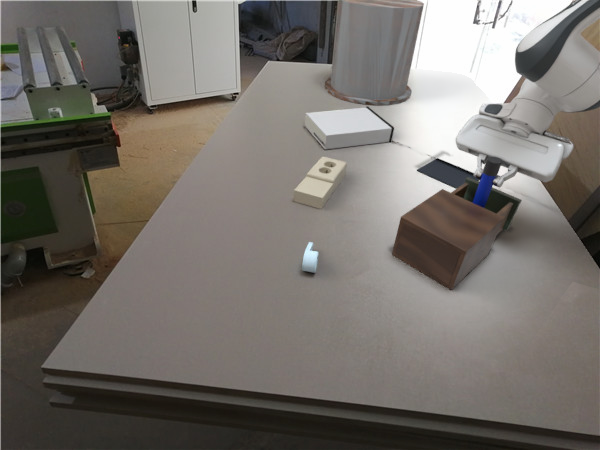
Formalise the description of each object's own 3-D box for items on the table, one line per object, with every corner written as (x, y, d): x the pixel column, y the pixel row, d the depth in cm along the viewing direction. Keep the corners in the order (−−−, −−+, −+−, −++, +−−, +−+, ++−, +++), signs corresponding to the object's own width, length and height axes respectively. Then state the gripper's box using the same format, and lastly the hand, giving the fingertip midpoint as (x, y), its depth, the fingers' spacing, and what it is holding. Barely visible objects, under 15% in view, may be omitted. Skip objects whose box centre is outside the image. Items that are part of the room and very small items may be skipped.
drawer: (466, 198, 100) (476, 171, 95) (516, 221, 93) (529, 192, 88) (426, 228, 89) (435, 199, 84) (479, 257, 82) (492, 226, 78)
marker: (484, 213, 88) (504, 159, 80) (478, 218, 86) (498, 164, 78) (472, 207, 89) (491, 154, 81) (466, 212, 88) (484, 159, 80)
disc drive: (391, 142, 126) (394, 127, 123) (325, 150, 119) (326, 134, 116) (365, 120, 139) (367, 106, 136) (304, 126, 132) (305, 111, 129)
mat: (487, 174, 112) (487, 173, 112) (463, 191, 104) (463, 190, 104) (442, 156, 120) (442, 154, 120) (416, 170, 112) (417, 169, 112)
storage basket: (398, 112, 147) (418, 13, 127) (311, 93, 158) (317, 0, 138) (419, 85, 172) (438, 0, 153) (342, 71, 183) (351, -10, 164)
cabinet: (431, 224, 92) (442, 188, 86) (488, 254, 85) (504, 217, 79) (391, 254, 83) (400, 216, 77) (451, 290, 76) (466, 251, 70)
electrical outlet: (294, 186, 94) (322, 155, 108) (293, 201, 97) (320, 168, 110) (322, 194, 92) (347, 161, 106) (321, 209, 95) (345, 175, 108)
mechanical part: (314, 276, 76) (316, 258, 74) (301, 274, 76) (303, 256, 75) (320, 255, 83) (322, 238, 81) (308, 253, 83) (310, 236, 82)
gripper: (576, 148, 79) (538, 208, 79) (478, 116, 90) (444, 168, 91) (580, 133, 74) (538, 197, 74) (475, 101, 85) (439, 156, 85)
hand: (486, 181), depth 82 cm, fingers closed on marker, 3 cm apart
